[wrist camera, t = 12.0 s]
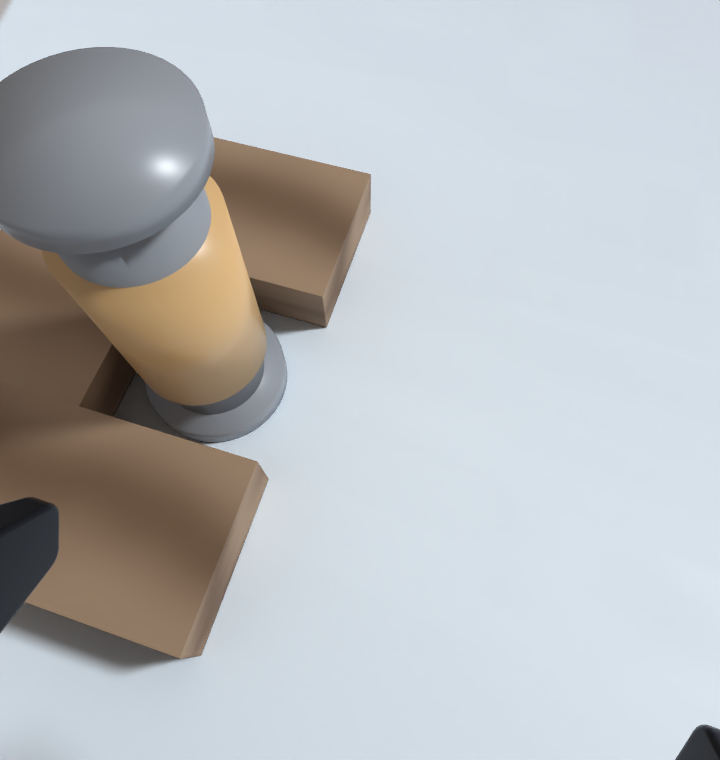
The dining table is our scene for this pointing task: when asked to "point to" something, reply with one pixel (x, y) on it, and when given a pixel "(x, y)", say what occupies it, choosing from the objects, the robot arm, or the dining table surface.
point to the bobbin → (140, 230)
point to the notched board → (145, 445)
